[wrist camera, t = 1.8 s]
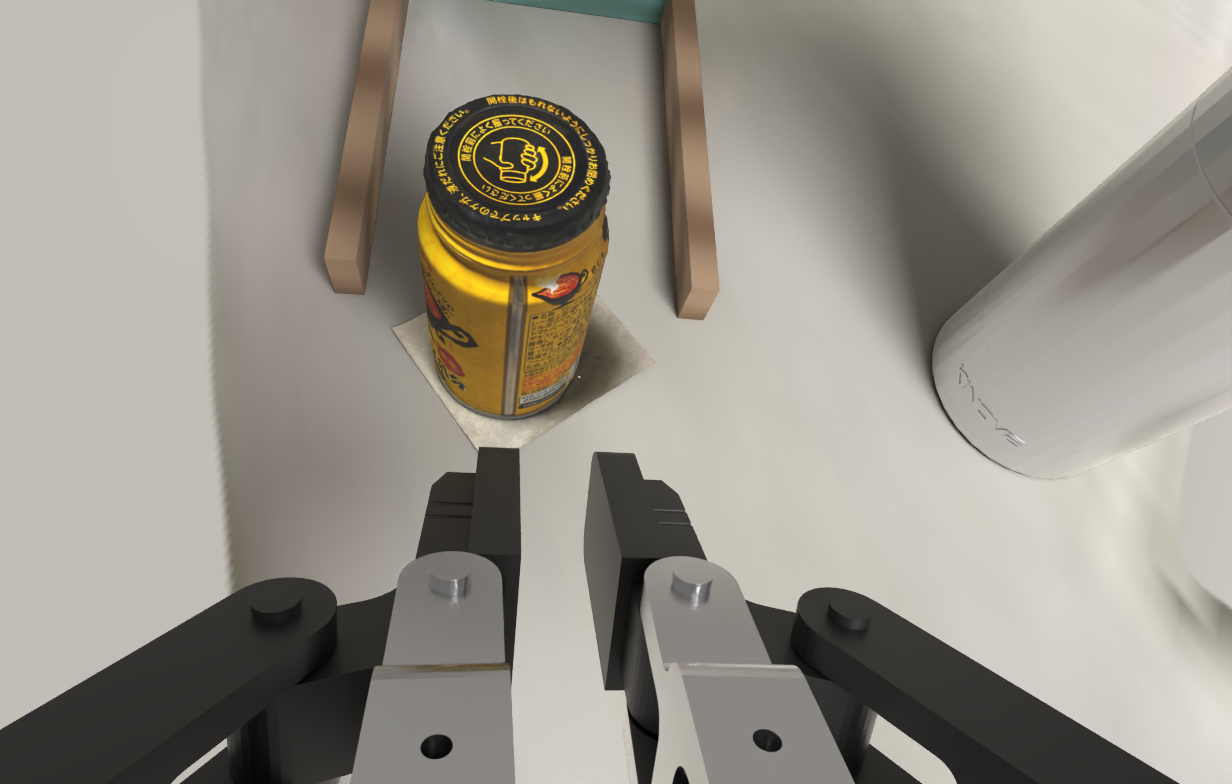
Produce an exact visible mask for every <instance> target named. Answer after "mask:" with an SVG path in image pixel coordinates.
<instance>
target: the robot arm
mask: <svg viewBox="0 0 1232 784" xmlns="http://www.w3.org/2000/svg"><path fill="white" fill-rule="evenodd" d="M932 371H933V376H934V380H935V385H936V389H937V392H938V394H939V397H940V399H941V401H942V404H943V406H944V408H945V410H946V411H947V413H948V414H949V416H950V418H951V419H952V421H953V422H954V424H955V425H956V427H957V428H958V429H959V430H960V431H961V432H962V433H963V435H964V436H965V437H966V438H967V439H968V440H969V441H970V442H971V443H972V444H973V445H974V446H975V447H976V448H978V449H979V450H980V451H981V452H983V453H984V454H985V455H986V456H988V457H989V458H990V459H992V460H994V461H996V462H997V463H999V464H1001V465H1003V466H1005V467H1006V468H1008V469H1010V470H1013V471H1016V472H1019V473H1022V474H1024V475H1027V476H1031V477H1038V478H1045V479H1059V478H1069V477H1072V476H1075V475H1078V474H1080V473H1083V472H1086V471H1088V470H1090V469H1093V468H1095V467H1097V466H1100V465H1102V464H1104V463H1106V462H1109V461H1111V460H1113V459H1116V458H1118V457H1120V456H1122V455H1125V454H1127V453H1129V452H1132V451H1134V450H1136V449H1139V448H1141V447H1143V446H1146V445H1149V444H1151V443H1153V442H1156V441H1158V440H1160V439H1163V438H1165V437H1167V436H1170V435H1172V434H1174V433H1176V432H1179V431H1181V430H1183V429H1186V428H1188V427H1190V426H1193V425H1195V424H1197V423H1199V422H1202V421H1204V420H1206V419H1209V418H1211V417H1213V416H1215V415H1218V414H1220V413H1222V412H1225V411H1227V410H1229V409H1232V67H1231V68H1230V69H1229V70H1228V71H1227V72H1225V73H1224V74H1223V75H1222V76H1221V77H1220V78H1219V79H1218V80H1216V81H1215V82H1214V83H1213V84H1212V85H1211V86H1210V87H1209V88H1207V90H1206V91H1205V92H1204V93H1203V94H1201V95H1200V96H1199V97H1198V98H1197V99H1196V100H1195V101H1194V102H1192V103H1191V104H1190V105H1189V106H1188V107H1187V108H1186V109H1185V110H1183V111H1182V112H1181V113H1180V114H1179V115H1178V116H1177V117H1176V118H1174V119H1173V120H1172V121H1171V122H1170V123H1169V124H1168V125H1167V126H1165V127H1164V128H1163V129H1162V130H1161V131H1160V132H1159V133H1158V134H1156V135H1155V136H1154V137H1153V138H1152V139H1151V140H1150V141H1148V142H1147V143H1146V144H1145V145H1144V146H1143V147H1142V148H1141V149H1139V150H1138V151H1137V152H1136V153H1135V154H1134V155H1133V156H1132V157H1130V158H1129V159H1128V160H1127V161H1126V162H1125V163H1124V164H1123V165H1121V166H1120V167H1119V168H1118V169H1117V170H1116V171H1115V172H1114V173H1112V174H1111V175H1110V176H1109V177H1108V178H1107V179H1106V180H1105V181H1103V182H1102V183H1101V184H1100V185H1099V186H1098V187H1097V188H1096V189H1094V190H1093V191H1092V192H1091V193H1090V194H1089V195H1088V196H1087V197H1085V198H1084V199H1083V200H1082V201H1081V202H1080V203H1079V204H1077V205H1076V206H1075V207H1074V208H1073V209H1072V210H1071V211H1070V212H1068V213H1067V214H1066V215H1065V216H1064V217H1063V218H1062V219H1061V220H1059V221H1058V222H1057V223H1056V224H1055V225H1054V226H1053V227H1052V228H1050V229H1049V230H1048V231H1047V232H1046V233H1045V234H1044V235H1043V236H1041V237H1040V238H1039V239H1038V240H1037V241H1036V242H1035V243H1034V244H1032V245H1031V246H1030V247H1029V248H1028V249H1027V250H1026V251H1025V252H1023V253H1022V254H1021V255H1020V256H1019V257H1018V258H1017V259H1015V260H1014V261H1013V262H1012V263H1011V264H1010V265H1009V266H1008V267H1006V268H1005V269H1004V270H1003V271H1002V272H1000V273H999V274H998V275H997V276H996V277H995V278H994V279H992V280H991V281H990V282H989V283H988V284H987V285H986V286H985V287H984V288H982V289H981V290H980V291H979V292H978V293H977V294H976V295H975V296H974V297H972V298H971V299H970V300H969V301H968V302H967V303H966V304H965V305H964V306H962V307H961V308H960V309H959V310H958V311H957V312H956V313H955V314H954V315H953V316H951V317H950V318H949V319H948V320H947V321H946V322H945V323H944V325H943V326H942V328H941V330H940V332H939V333H938V335H937V337H936V341H935V344H934V348H933V352H932ZM584 562H585V569H586V575H587V582H588V588H589V594H590V600H591V607H592V613H593V619H594V626H595V632H596V638H597V645H598V651H599V657H600V664H601V670H602V676H603V682H604V689H605V690H625V695H626V700H627V701H626V708H625V715H624V722H623V736H624V744H625V751H626V759H627V767H628V774H629V782H630V784H922V783H920V782H919V781H918V780H916V779H915V778H914V777H913V776H911V775H910V774H909V773H907V772H906V771H905V770H903V769H902V768H901V767H899V766H898V765H897V764H895V763H894V762H893V761H891V760H890V759H889V758H888V757H886V756H885V755H884V754H882V753H881V752H880V751H878V750H877V749H876V748H874V747H873V746H872V745H870V744H869V741H870V738H871V734H872V731H873V727H874V724H875V720H876V717H877V714H879V715H880V716H881V717H883V718H884V719H885V720H887V721H888V722H890V723H891V724H892V725H894V726H895V727H897V728H898V729H899V730H901V731H902V732H903V733H905V734H906V735H908V736H909V737H910V738H912V739H913V740H915V741H916V742H917V743H919V744H920V745H922V746H923V747H924V748H926V749H927V750H928V751H930V752H931V753H933V754H934V755H935V756H937V757H938V758H939V759H940V760H942V761H943V762H944V763H945V764H946V766H947V767H948V768H949V769H950V771H951V772H952V774H953V776H954V778H955V780H956V782H957V784H1179V783H1177V782H1176V781H1174V780H1172V779H1171V778H1169V777H1167V776H1166V775H1164V774H1162V773H1161V772H1159V771H1157V770H1156V769H1154V768H1152V767H1151V766H1149V765H1147V764H1146V763H1144V762H1142V761H1141V760H1139V759H1137V758H1136V757H1134V756H1132V755H1131V754H1129V753H1127V752H1126V751H1124V750H1122V749H1121V748H1119V747H1117V746H1116V745H1114V744H1112V743H1111V742H1109V741H1107V740H1106V739H1104V738H1102V737H1101V736H1099V735H1097V734H1096V733H1094V732H1092V731H1091V730H1089V729H1087V728H1086V727H1084V726H1082V725H1081V724H1079V723H1077V722H1076V721H1074V720H1072V719H1071V718H1069V717H1067V716H1066V715H1064V714H1062V713H1061V712H1059V711H1057V710H1056V709H1054V708H1052V707H1051V706H1049V705H1047V704H1046V703H1044V702H1042V701H1041V700H1039V699H1037V698H1036V697H1034V696H1032V695H1031V694H1029V693H1027V692H1026V691H1024V690H1022V689H1021V688H1019V687H1017V686H1016V685H1014V684H1012V683H1011V682H1009V681H1007V680H1006V679H1004V678H1002V677H1001V676H999V675H997V674H996V673H994V672H992V671H991V670H989V669H987V668H986V667H984V666H982V665H981V664H979V663H977V662H976V661H974V660H972V659H971V658H969V657H967V656H966V655H964V654H962V653H961V652H959V651H957V650H956V649H954V648H952V647H951V646H949V645H947V644H946V643H944V642H942V641H941V640H939V639H937V638H936V637H934V636H932V635H931V634H929V633H927V632H926V631H924V630H922V629H921V628H919V627H917V626H916V625H914V624H912V623H911V622H909V621H907V620H906V619H904V618H902V617H901V616H899V615H897V614H896V613H894V612H892V611H891V610H889V609H887V608H886V607H884V606H882V605H881V604H879V603H877V602H876V601H874V600H872V599H870V598H868V597H866V596H864V595H861V594H859V593H856V592H853V591H849V590H845V589H840V588H829V587H826V588H817V589H812V590H810V591H807V592H806V593H804V594H803V595H802V596H801V597H800V599H799V601H798V605H797V609H796V613H794V612H789V611H785V610H780V609H776V608H771V607H767V606H763V605H759V604H755V603H753V602H750V601H747V600H745V599H744V597H743V594H742V592H741V589H740V587H739V585H738V583H737V581H736V579H735V578H734V577H733V576H732V575H731V574H730V573H729V572H728V571H726V570H725V569H723V568H722V567H720V566H718V565H716V564H714V563H712V562H709V561H707V559H706V557H705V554H704V552H703V550H702V547H701V545H700V543H699V541H698V538H697V536H696V534H695V531H694V529H693V527H692V526H691V522H690V520H689V518H688V515H687V513H685V508H684V506H683V504H682V501H681V499H680V497H679V495H678V494H677V493H676V492H675V491H674V490H673V489H671V488H670V487H669V486H668V485H666V484H665V483H664V482H663V481H662V480H644V479H643V476H642V474H641V471H640V468H639V465H638V462H637V460H636V457H635V454H634V453H613V452H594V454H593V457H592V463H591V472H590V481H589V491H588V500H587V509H586V519H585V529H584ZM520 563H521V521H520V463H519V448H501V447H479V450H478V460H477V469H476V473H460V472H446V473H445V474H444V475H443V476H442V477H441V478H440V479H439V480H437V481H436V482H435V483H434V484H433V485H432V487H431V491H430V496H429V500H428V505H427V509H426V514H425V518H424V523H423V527H422V532H421V536H420V541H419V545H418V550H417V554H416V559H415V560H414V561H412V562H411V563H410V564H408V565H407V566H406V567H405V568H404V569H403V570H402V572H401V573H400V576H399V579H398V584H397V588H396V589H394V590H392V591H391V592H389V593H386V594H384V595H382V596H379V597H376V598H373V599H370V600H365V601H361V602H356V603H350V604H345V605H340V606H337V600H336V597H335V595H334V593H333V592H332V591H331V590H330V589H329V588H328V587H327V586H325V585H323V584H321V583H319V582H316V581H314V580H310V579H304V578H277V579H270V580H265V581H262V582H258V583H255V584H252V585H249V586H247V587H244V588H243V589H241V590H239V591H237V592H235V593H233V594H232V595H230V596H228V597H226V598H225V599H223V600H221V601H220V602H218V603H216V604H214V605H213V606H211V607H210V608H208V609H206V610H204V611H203V612H201V613H199V614H197V615H196V616H194V617H193V618H191V619H189V620H187V621H185V622H184V623H182V624H180V625H179V626H177V627H175V628H174V629H172V630H170V631H168V632H167V633H165V634H163V635H162V636H160V637H158V638H156V639H155V640H153V641H151V642H150V643H148V644H146V645H145V646H143V647H141V648H139V649H138V650H136V651H134V652H132V653H131V654H129V655H128V656H126V657H124V658H122V659H120V660H119V661H117V662H116V663H114V664H112V665H110V666H109V667H107V668H105V669H103V670H102V671H100V672H98V673H97V674H95V675H93V676H91V677H90V678H88V679H86V680H85V681H83V682H81V683H80V684H78V685H76V686H74V687H73V688H71V689H69V690H67V691H66V692H64V693H63V694H61V695H59V696H57V697H56V698H54V699H52V700H50V701H49V702H47V703H45V704H44V705H42V706H40V707H39V708H37V709H35V710H33V711H32V712H30V713H28V714H26V715H25V716H23V717H21V718H20V719H18V720H16V721H14V722H13V723H11V724H9V725H8V726H6V727H4V728H3V729H1V730H0V784H171V783H172V782H173V781H174V780H175V779H176V777H177V776H179V775H180V774H181V773H182V772H183V771H184V770H186V769H187V768H188V767H189V766H191V765H192V764H193V763H195V762H196V761H197V760H198V759H200V758H201V757H202V756H204V755H205V754H206V753H207V752H209V751H210V750H211V749H212V748H214V747H215V746H216V745H218V744H219V743H221V742H222V741H223V740H224V739H226V738H227V745H228V746H227V747H226V748H224V749H223V750H222V751H221V752H219V753H218V754H217V755H216V756H214V757H213V758H212V759H210V760H209V761H208V762H207V763H205V764H204V765H203V766H202V767H200V768H199V769H198V770H197V771H195V772H194V773H193V774H191V775H190V776H189V777H188V778H186V779H185V780H184V781H183V782H181V783H180V784H338V782H339V779H340V777H341V776H344V775H348V774H351V773H352V777H351V782H350V784H515V768H514V746H513V724H512V701H511V683H512V670H513V657H514V643H515V630H516V616H517V603H518V589H519V576H520Z"/></svg>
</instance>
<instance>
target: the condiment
mask: <svg viewBox="0 0 1232 784" xmlns="http://www.w3.org/2000/svg"><path fill="white" fill-rule="evenodd" d="M423 170H424V178H425V181H426V192H425V197H424V199H423V202H422V204H421V206H420V209H419V216H418V221H417V226H418V240H419V249H420V259H421V264H422V273H423V277H424V286H425V295H426V303H427V312H425V313H422V314H421V315H419V316H417V317H416V318H414V319H411V320H410V321H408V322H405V323H403V324H401V325H399V326H396V327H393V328H392V330H393V331H394V333H395V334H396V336H397V337H398V338H399V340H400V341H401V343H402V344H403V346H404V347H405V348H406V350H407V352H408V353H409V355H410V356H411V357H412V359H413V360H414V362H415V363H416V365H417V366H418V367H419V369H420V370H421V372H422V373H423V375H424V376H425V377H426V379H427V380H428V382H429V383H430V385H431V386H432V388H433V389H434V390H435V392H436V393H437V395H438V396H439V397H440V399H441V400H442V402H443V403H444V404H445V406H446V407H447V409H448V410H449V411H450V413H451V414H452V416H453V417H454V419H455V420H456V421H457V423H458V424H459V426H460V427H461V428H462V430H463V431H464V433H465V434H466V435H467V436H468V438H469V439H470V440H471V442H472V443H473V445H474V446H475V448H476V449H477V450H479V447H501V448H520V447H522V446H523V445H525V444H527V443H528V442H530V441H531V440H533V439H534V438H535V437H537V436H539V435H541V434H543V433H544V432H546V431H548V430H549V429H551V428H552V427H554V426H555V425H557V424H558V423H559V422H561V421H563V420H565V419H567V418H568V417H569V416H571V415H572V414H574V413H575V412H577V411H579V410H580V409H582V408H583V407H585V406H586V405H587V404H589V403H590V402H592V401H593V400H595V399H597V398H599V397H601V396H602V395H604V394H605V393H607V392H609V391H610V390H612V389H614V388H615V387H617V386H619V385H620V384H622V383H623V382H625V381H626V380H628V379H629V378H630V377H632V376H633V375H635V374H636V373H638V372H640V371H641V370H643V369H645V368H646V367H648V366H649V365H651V364H653V363H654V362H655V361H654V360H653V359H652V358H651V357H650V356H649V354H648V353H647V352H646V351H645V350H644V349H643V348H642V347H641V346H640V345H639V344H638V342H637V341H636V340H635V339H634V337H633V336H632V335H631V334H630V333H629V332H628V330H627V329H626V328H625V327H624V325H623V324H622V323H621V322H620V321H619V320H618V319H617V318H616V316H615V315H614V314H613V313H612V311H611V310H610V309H609V308H608V306H607V305H606V304H605V303H604V301H603V300H602V299H601V298H600V296H598V295H597V294H596V293H597V289H598V285H599V282H600V278H601V274H602V270H603V266H604V262H605V258H606V256H607V252H608V243H609V229H608V223H607V216H606V214H605V204H606V203H607V199H606V198H607V196H608V195H609V190H610V185H609V183H610V179H611V175H610V171H609V170H608V162H607V160H606V154H605V150H604V148H603V146H602V145H601V143H600V142H599V140H598V138H597V137H596V135H595V134H594V133H593V132H592V131H591V130H590V129H589V127H588V126H587V125H586V123H585V122H584V121H582V120H581V119H579V118H578V117H577V116H576V115H574V114H573V113H572V112H570V111H569V110H568V109H566V108H564V107H562V106H559V105H556V104H554V103H551V102H549V101H546V100H543V99H540V98H536V97H530V96H522V95H518V94H517V95H491V96H488V97H483V98H480V99H475V100H474V101H471V102H468V103H466V104H465V105H463V106H461V107H458V108H456V109H455V110H454V111H452V112H449V113H448V114H447V116H446V117H445V119H444V120H443V122H442V123H441V124H440V125H439V126H438V127H437V128H436V129H435V130H434V131H433V132H432V133H431V135H430V138H429V141H428V144H427V151H426V155H425V166H424V169H423ZM578 376H581V378H578Z"/></svg>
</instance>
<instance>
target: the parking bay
mask: <svg viewBox="0 0 1232 784" xmlns="http://www.w3.org/2000/svg"><path fill="white" fill-rule="evenodd" d="M408 1H409V0H370V6H369V11H368V17H367V22H366V28H365V34H364V39H363V45H362V50H361V56H360V61H359V67H358V72H357V78H356V83H355V89H354V94H353V100H352V105H351V111H350V116H349V122H348V127H347V133H346V138H345V144H344V149H343V155H342V160H341V166H340V171H339V177H338V182H337V188H336V194H335V199H334V205H333V210H332V216H331V221H330V227H329V232H328V238H327V243H326V249H325V254H324V260H325V263H326V267H327V270H328V273H329V276H330V279H331V282H332V285H333V288H334V291H335V293H348V294H361V295H365V289H366V282H367V275H368V269H369V262H370V255H371V249H372V242H373V235H374V229H375V222H376V215H377V208H378V202H379V195H380V188H381V182H382V175H383V168H384V162H385V155H386V148H387V142H388V135H389V128H390V122H391V115H392V108H393V102H394V95H395V88H396V81H397V75H398V68H399V61H400V55H401V48H402V41H403V35H404V28H405V21H406V15H407V8H408ZM491 1H498V2H505V3H513V4H520V5H527V6H534V7H541V8H549V9H556V10H563V11H570V12H578V13H585V14H592V15H599V16H607V17H614V18H621V19H628V20H635V21H643V22H650V23H657V24H661V38H662V55H663V73H664V90H665V107H666V124H667V142H668V159H669V176H670V194H671V211H672V228H673V245H674V263H675V280H676V297H677V314H678V318H684V319H698V320H704V318H705V316H706V314H707V312H708V311H709V309H710V307H711V305H712V303H713V301H714V299H715V298H716V296H717V294H718V292H719V279H718V267H717V256H716V244H715V233H714V221H713V210H712V198H711V187H710V175H709V164H708V152H707V141H706V129H705V118H704V106H703V95H702V83H701V72H700V60H699V49H698V37H697V26H696V14H695V3H694V0H491Z"/></svg>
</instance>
